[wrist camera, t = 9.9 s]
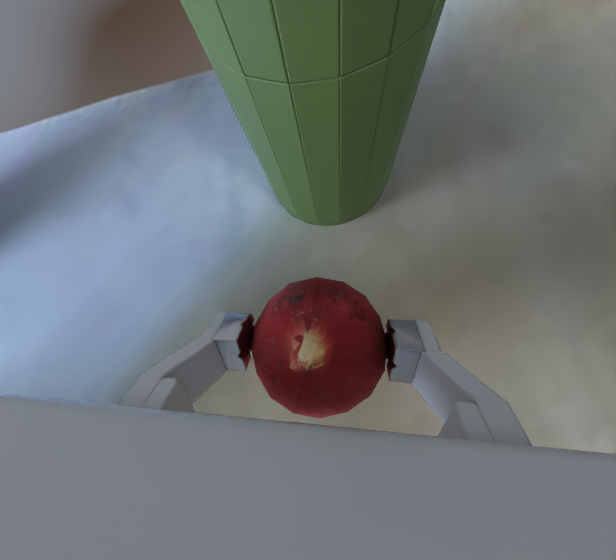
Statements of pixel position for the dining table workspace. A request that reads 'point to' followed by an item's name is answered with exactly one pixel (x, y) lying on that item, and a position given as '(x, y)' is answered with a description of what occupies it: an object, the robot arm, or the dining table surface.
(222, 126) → the dining table surface
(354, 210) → the green cylindrical vase
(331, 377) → the onion
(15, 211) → the dining table surface
